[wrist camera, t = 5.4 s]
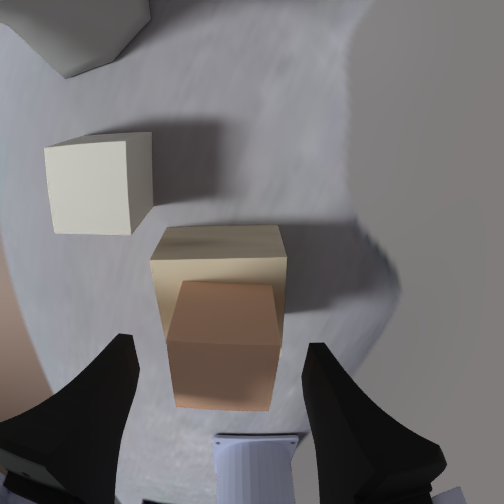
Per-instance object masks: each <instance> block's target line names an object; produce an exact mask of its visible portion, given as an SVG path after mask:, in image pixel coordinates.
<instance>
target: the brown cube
mask: <svg viewBox="0 0 504 504" xmlns="http://www.w3.org/2000/svg"><path fill="white" fill-rule="evenodd" d="M166 343H167V350H168V358H169V365H170V372H171V379H172V385H173V392H174V398H175V404H176V407H183V408H195V409H210V410H232V411H269V409H270V404H271V398H272V393H273V388H274V382H275V377H276V372H277V366H278V360H279V355H280V349H281V341H280V335H279V329H278V322H277V316H276V309H275V303H274V297H273V290H272V285H257V284H234V283H213V282H195V281H182V285H181V288H180V291H179V295H178V298H177V302H176V306H175V309H174V313H173V316H172V320H171V324H170V327H169V331H168V335H167V339H166Z"/></svg>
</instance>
